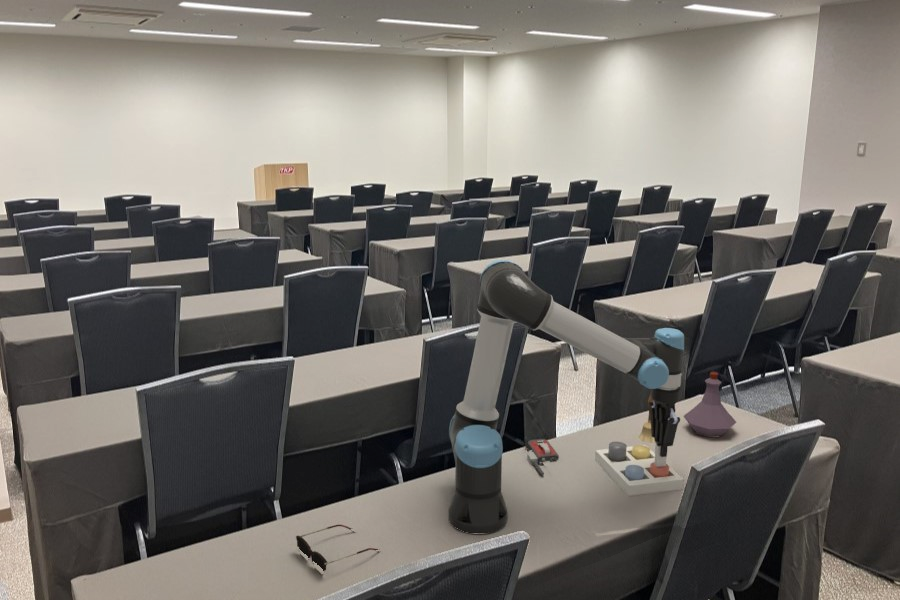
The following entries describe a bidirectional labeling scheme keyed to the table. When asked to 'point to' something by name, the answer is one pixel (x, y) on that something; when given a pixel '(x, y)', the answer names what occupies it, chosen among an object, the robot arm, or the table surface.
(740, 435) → the table surface
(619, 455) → the button charcoal
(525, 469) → the table surface
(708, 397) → the flask
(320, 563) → the sunglasses
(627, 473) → the button slate
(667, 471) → the button brick
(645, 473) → the console
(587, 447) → the table surface
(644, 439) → the hand bell
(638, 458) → the button mustard
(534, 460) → the walkie-talkie
